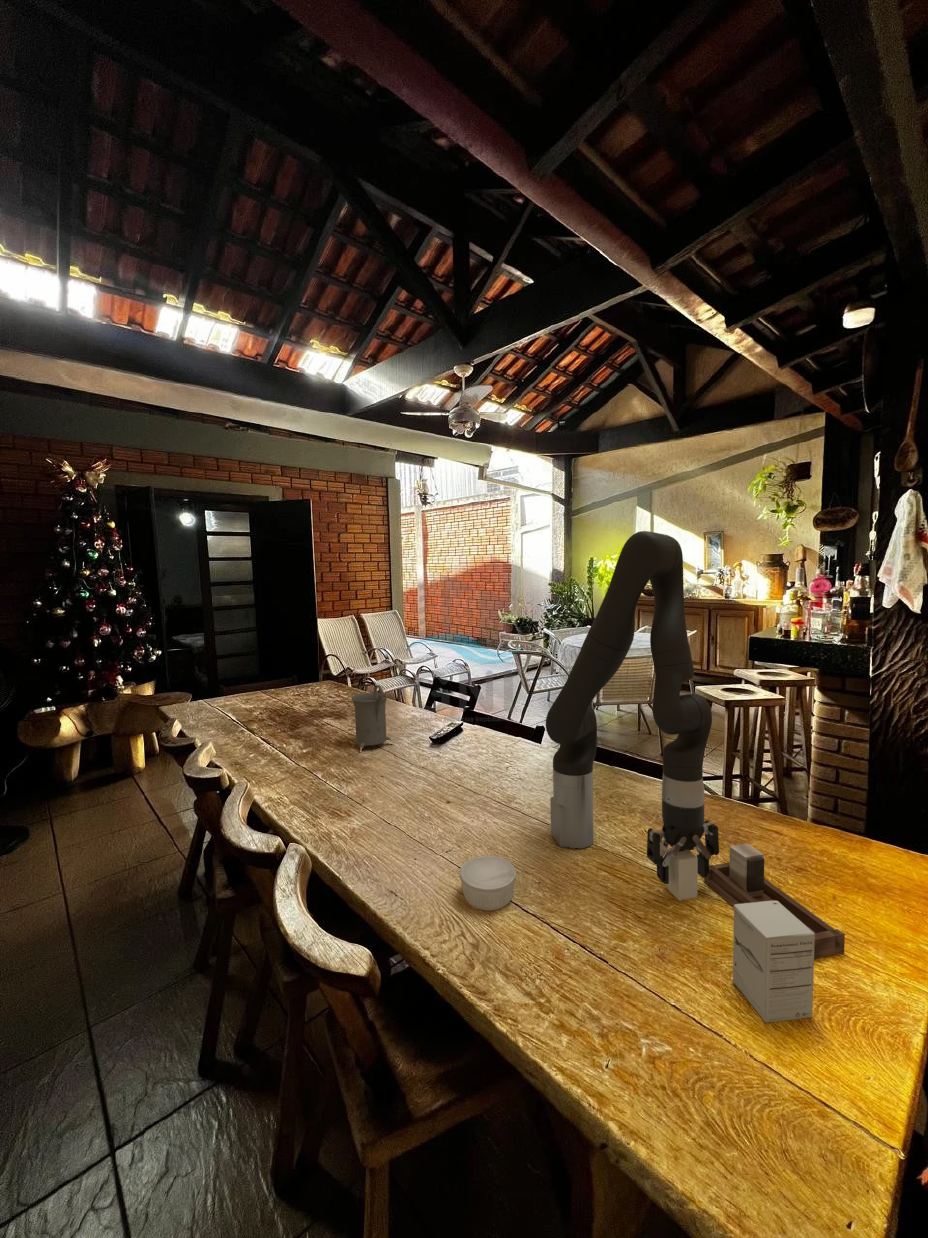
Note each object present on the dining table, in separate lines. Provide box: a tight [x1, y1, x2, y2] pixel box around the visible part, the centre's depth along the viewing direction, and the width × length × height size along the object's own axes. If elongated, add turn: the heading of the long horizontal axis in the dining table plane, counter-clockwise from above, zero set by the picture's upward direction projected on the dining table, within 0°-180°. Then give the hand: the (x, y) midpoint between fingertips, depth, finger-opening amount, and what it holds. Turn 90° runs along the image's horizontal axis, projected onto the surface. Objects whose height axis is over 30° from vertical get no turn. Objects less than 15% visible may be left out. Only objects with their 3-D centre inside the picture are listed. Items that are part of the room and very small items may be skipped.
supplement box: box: [732, 901, 815, 1023], centre depth 71 cm, size 7×7×13 cm
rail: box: [703, 843, 846, 960], centre depth 90 cm, size 9×22×9 cm, turn 11°
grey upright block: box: [665, 848, 699, 901], centre depth 97 cm, size 4×5×8 cm
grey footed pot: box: [351, 684, 392, 748], centre depth 189 cm, size 19×15×25 cm
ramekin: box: [459, 855, 517, 912], centre depth 97 cm, size 11×11×5 cm
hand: (683, 878), depth 97 cm, fingers open, 8 cm apart
